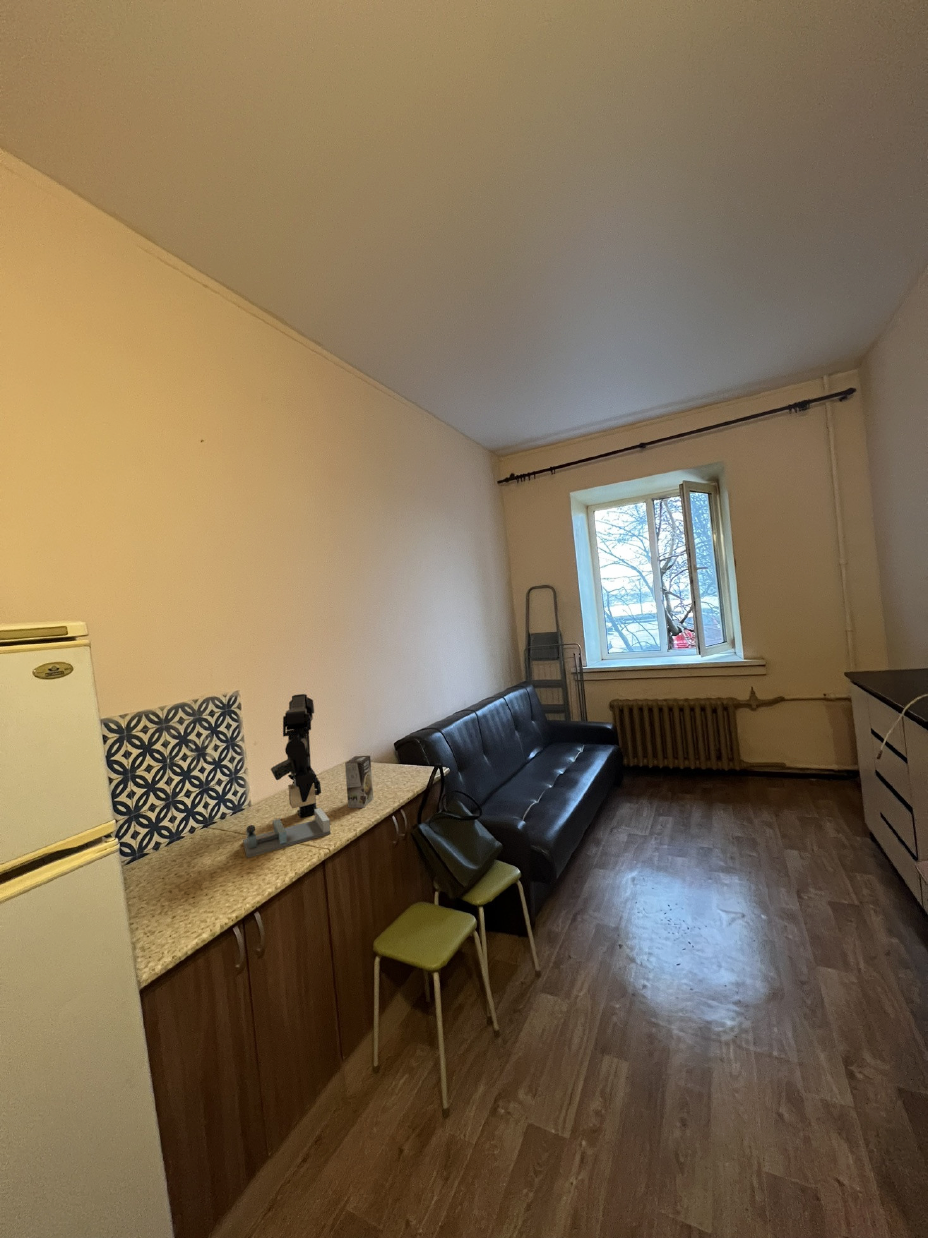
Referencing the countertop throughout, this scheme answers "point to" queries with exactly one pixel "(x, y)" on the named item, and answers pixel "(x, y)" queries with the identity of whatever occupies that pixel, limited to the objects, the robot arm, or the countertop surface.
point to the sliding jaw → (278, 833)
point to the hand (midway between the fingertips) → (302, 799)
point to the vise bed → (293, 835)
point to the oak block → (296, 797)
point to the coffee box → (359, 781)
